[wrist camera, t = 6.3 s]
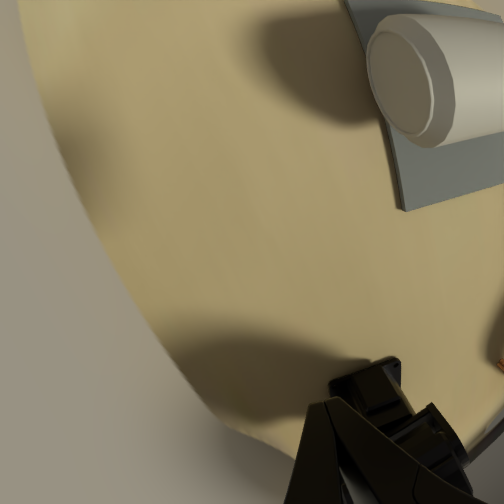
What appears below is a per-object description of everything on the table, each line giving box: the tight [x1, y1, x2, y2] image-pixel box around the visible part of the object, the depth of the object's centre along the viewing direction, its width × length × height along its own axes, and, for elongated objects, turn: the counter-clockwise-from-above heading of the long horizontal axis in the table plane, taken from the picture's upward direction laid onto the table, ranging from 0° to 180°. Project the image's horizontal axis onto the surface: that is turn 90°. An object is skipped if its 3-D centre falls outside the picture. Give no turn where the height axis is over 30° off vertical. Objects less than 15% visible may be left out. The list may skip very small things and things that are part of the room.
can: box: [366, 14, 504, 148], centre depth 12 cm, size 8×8×12 cm
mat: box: [344, 0, 504, 212], centre depth 16 cm, size 15×16×1 cm
